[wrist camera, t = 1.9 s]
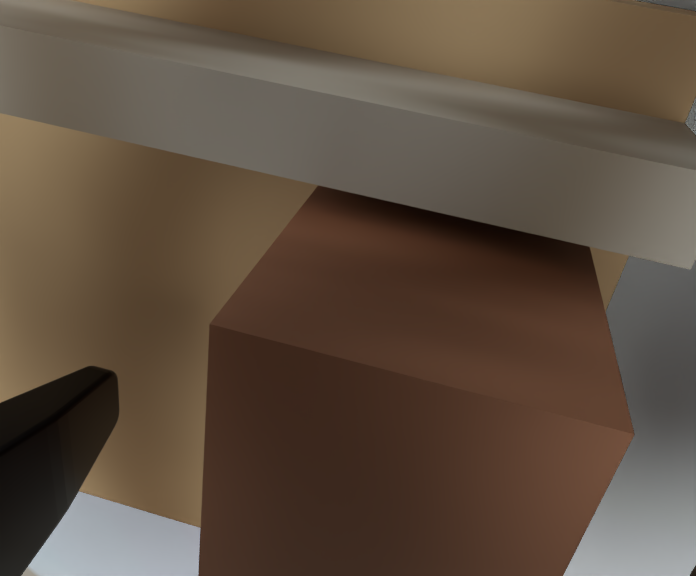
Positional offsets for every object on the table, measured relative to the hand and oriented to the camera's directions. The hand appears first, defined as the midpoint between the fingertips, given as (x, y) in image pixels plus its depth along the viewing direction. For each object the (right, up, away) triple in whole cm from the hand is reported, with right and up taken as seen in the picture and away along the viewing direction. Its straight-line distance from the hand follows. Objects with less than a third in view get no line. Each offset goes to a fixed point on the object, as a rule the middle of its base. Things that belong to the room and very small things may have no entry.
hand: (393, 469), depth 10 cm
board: (-4, +3, +5) cm, 7 cm away
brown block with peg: (0, 0, +4) cm, 4 cm away
